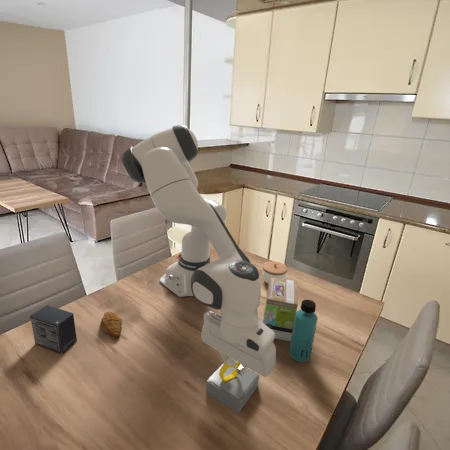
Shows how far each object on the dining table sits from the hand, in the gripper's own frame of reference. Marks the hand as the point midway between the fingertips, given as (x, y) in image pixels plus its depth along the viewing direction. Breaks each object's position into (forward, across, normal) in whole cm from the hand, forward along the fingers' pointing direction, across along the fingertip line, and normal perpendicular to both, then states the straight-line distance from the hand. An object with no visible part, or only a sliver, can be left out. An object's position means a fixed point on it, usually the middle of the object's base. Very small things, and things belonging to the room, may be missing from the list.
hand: (234, 368), depth 79 cm
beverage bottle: (+7, +10, +22) cm, 25 cm away
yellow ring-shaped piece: (+3, -1, -1) cm, 3 cm away
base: (+7, 0, 0) cm, 7 cm away
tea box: (+7, -2, +32) cm, 33 cm away
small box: (+7, -52, -19) cm, 56 cm away
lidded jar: (+7, -16, +57) cm, 60 cm away
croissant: (+8, -45, -5) cm, 46 cm away
